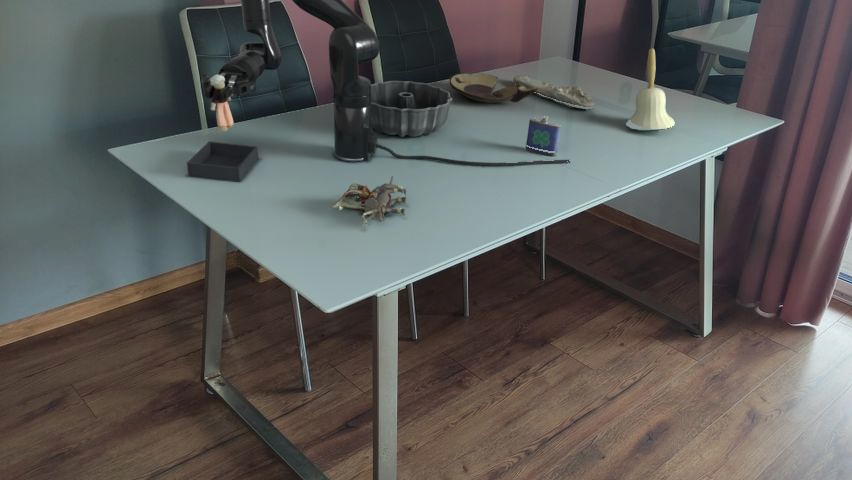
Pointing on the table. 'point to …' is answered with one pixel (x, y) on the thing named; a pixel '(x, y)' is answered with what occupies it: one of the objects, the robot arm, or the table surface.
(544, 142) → the flask
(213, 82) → the grandmother figurine
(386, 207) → the figurine
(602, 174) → the table surface
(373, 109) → the bundt pan
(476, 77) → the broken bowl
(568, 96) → the elongated rock
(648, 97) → the handbell
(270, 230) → the table surface
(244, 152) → the pan
